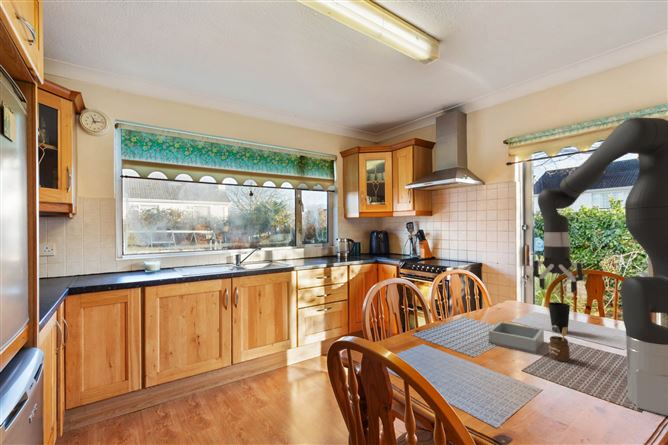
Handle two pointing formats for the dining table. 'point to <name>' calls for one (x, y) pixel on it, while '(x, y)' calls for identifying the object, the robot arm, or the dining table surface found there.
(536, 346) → the bin
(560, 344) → the utensil holder
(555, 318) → the cup
